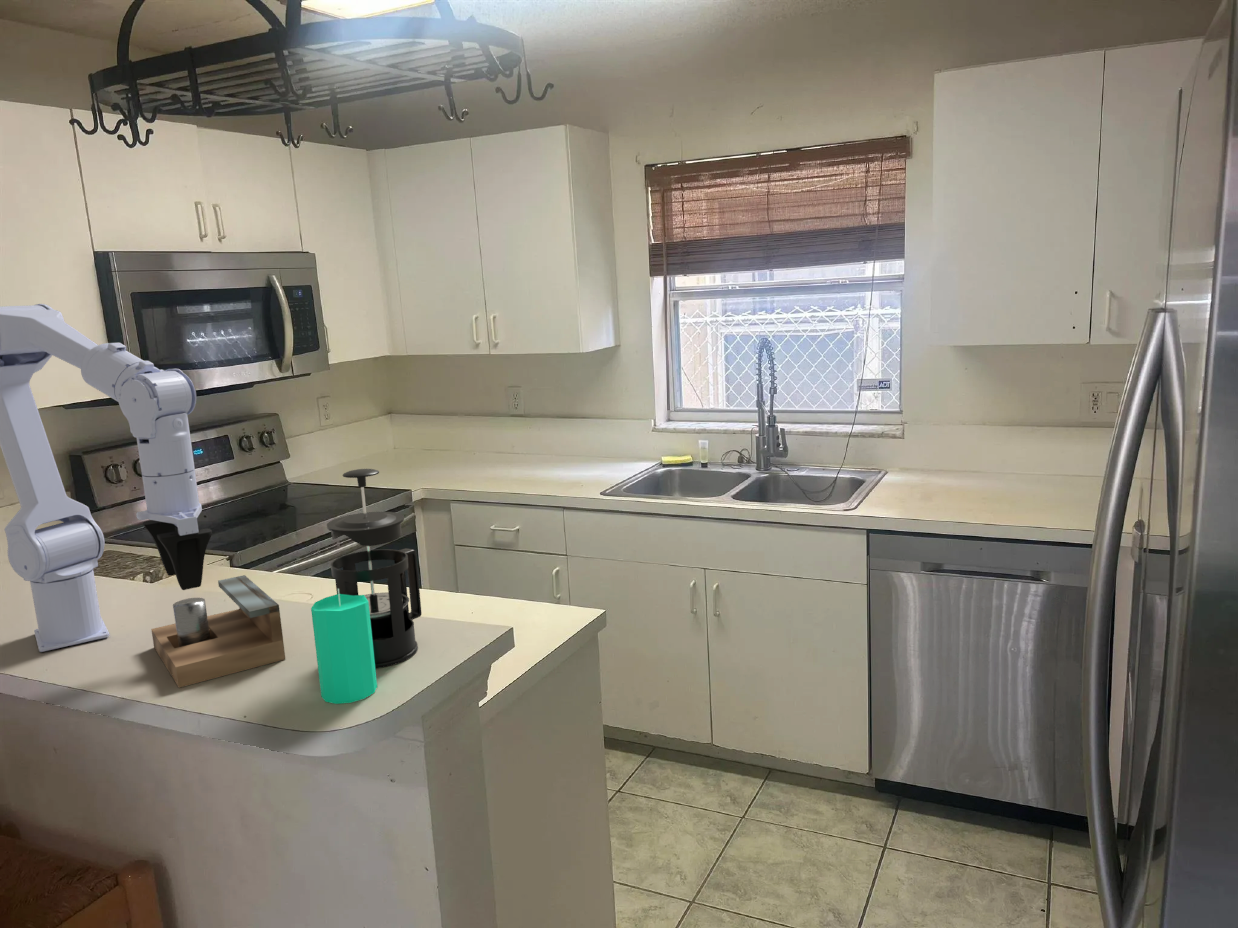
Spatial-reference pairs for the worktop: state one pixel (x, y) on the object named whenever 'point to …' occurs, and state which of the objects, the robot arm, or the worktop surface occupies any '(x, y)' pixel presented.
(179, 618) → the peg
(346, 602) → the candle
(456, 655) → the worktop surface
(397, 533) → the french press
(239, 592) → the socket board
